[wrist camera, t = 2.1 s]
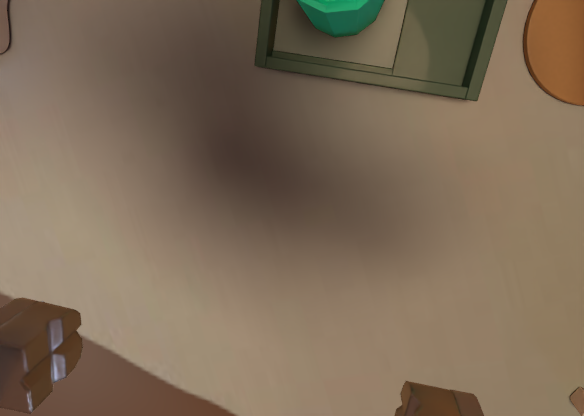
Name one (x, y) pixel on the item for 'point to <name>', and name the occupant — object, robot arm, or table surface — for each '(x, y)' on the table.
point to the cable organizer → (578, 400)
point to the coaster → (557, 48)
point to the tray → (409, 49)
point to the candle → (341, 15)
